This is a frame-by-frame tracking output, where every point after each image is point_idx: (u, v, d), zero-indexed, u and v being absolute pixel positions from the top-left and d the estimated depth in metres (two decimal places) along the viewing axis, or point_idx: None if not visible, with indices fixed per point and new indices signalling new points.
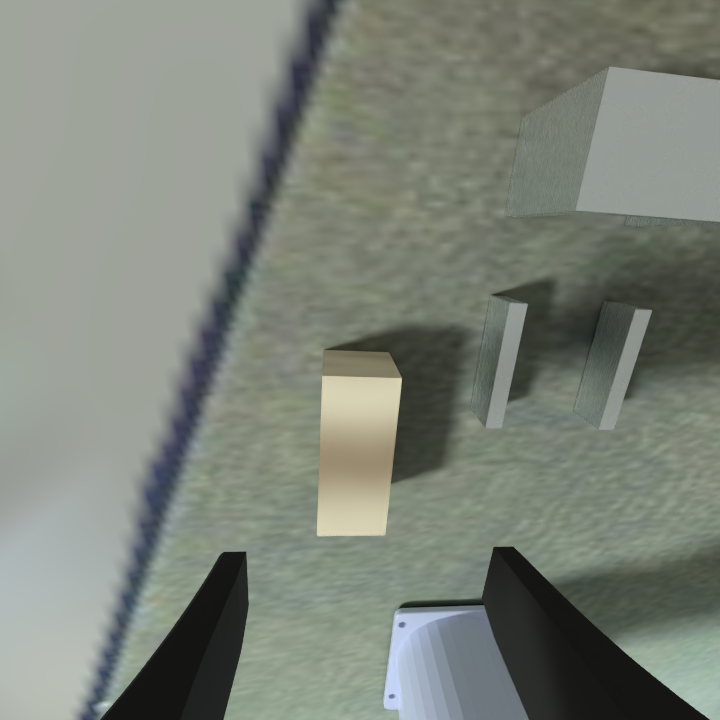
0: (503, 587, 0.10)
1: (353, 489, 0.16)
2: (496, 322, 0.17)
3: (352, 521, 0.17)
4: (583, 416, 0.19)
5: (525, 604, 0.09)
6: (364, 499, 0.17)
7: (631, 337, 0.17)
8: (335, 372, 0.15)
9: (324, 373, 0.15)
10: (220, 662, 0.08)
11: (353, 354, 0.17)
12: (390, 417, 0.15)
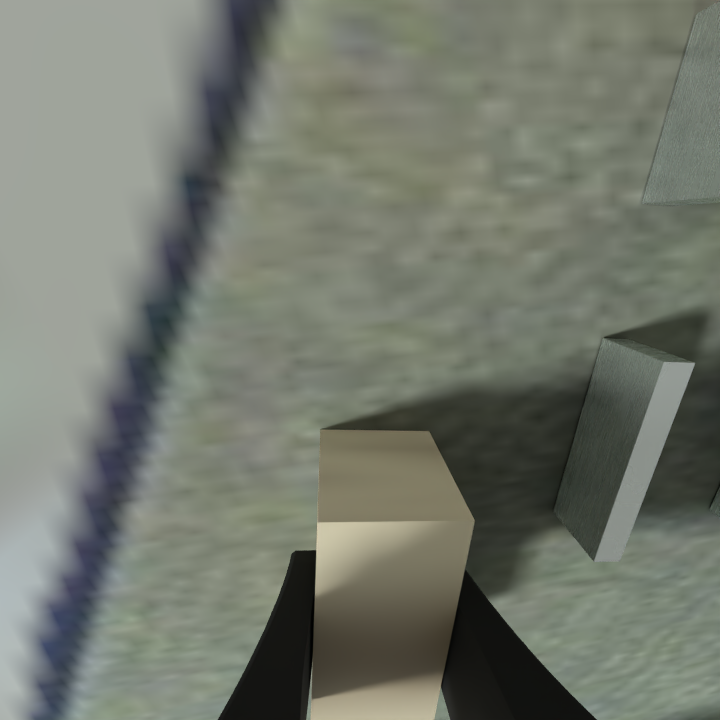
0: None
1: (373, 696, 0.09)
2: (621, 388, 0.10)
3: None
4: None
5: None
6: (393, 708, 0.09)
7: None
8: (343, 506, 0.08)
9: (321, 512, 0.07)
10: (308, 658, 0.08)
11: (371, 444, 0.10)
12: (448, 586, 0.08)
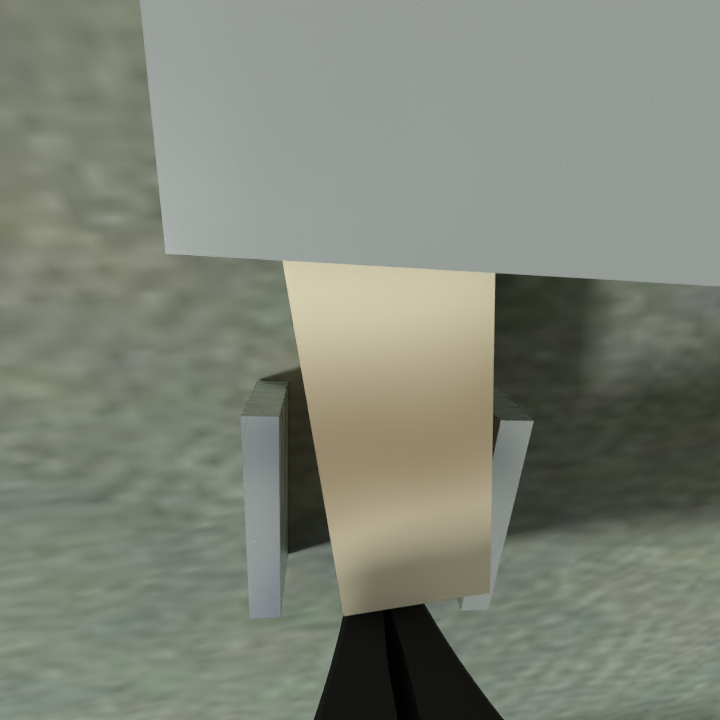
0: None
1: (406, 507, 0.07)
2: None
3: (415, 575, 0.08)
4: None
5: None
6: (436, 525, 0.07)
7: (499, 467, 0.09)
8: None
9: None
10: None
11: None
12: (477, 315, 0.06)
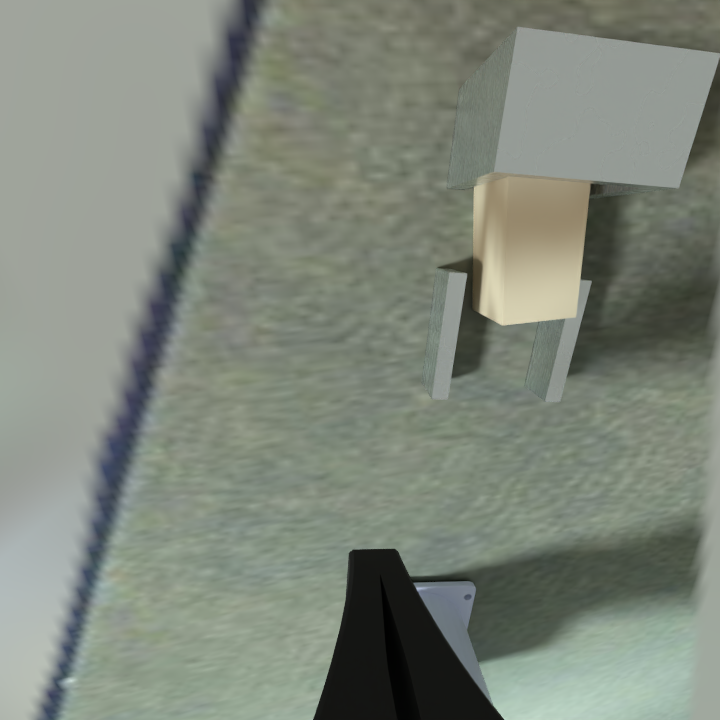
0: None
1: (542, 257, 0.15)
2: (440, 293, 0.17)
3: (541, 301, 0.15)
4: (532, 390, 0.20)
5: (385, 609, 0.09)
6: (554, 269, 0.15)
7: None
8: None
9: None
10: None
11: None
12: None
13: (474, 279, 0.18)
